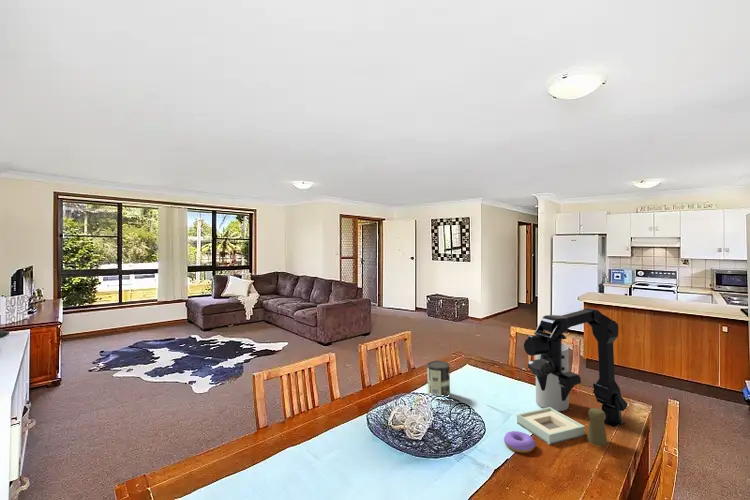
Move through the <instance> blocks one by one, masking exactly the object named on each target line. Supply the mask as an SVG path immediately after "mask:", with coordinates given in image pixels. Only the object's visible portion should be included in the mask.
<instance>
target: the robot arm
mask: <svg viewBox="0 0 750 500" xmlns="http://www.w3.org/2000/svg"><path fill="white" fill-rule="evenodd" d="M583 324H588V325H589V326H590V327H591V332H592V335H593V336H594V338H595V340H596V341H597V355H598V358H597V359H598V377H599V378H598V379H597V381H596V382H594V383H593V384H592V387H593V390H592V393H593V394H594V397H595V399H596V401H597V403H600V404H601V408H600V409H601V410H603V411H604V412H605V415H606V418H605V420H604V424H607V425H609V426H611V427H616V426H621V425H624V424H626V422H625V421H624V420H622V412H624V411H625V410H627V408H628V402H627V401H626V400H625V399H624V398H623V396H622V394H621V389H620V387H619V385H618V383H617V382H616V380H615V378H616V377H615V353H614V352H615V351H614V342H615V341H616V340H617V338H618V337H619V327H620V326H619V323H617V322H616V321H615V320H613V319H611V318H610V317H608V316H607V315H605V314H603V313H602V312H601V311H600V310H598V309H595V308H590V307H585V308H583V309H581V310H578V311H574V312H569V313H566V314H563V315H561V314H560V315H556V314H555V315H554V314H552V315H551V314H547V315H544V316H542V317H541V320H540V322H539V323H538V326H537V327H536V329H535V331H534V332H533V333H534V334H529V335H528V336H527V338H526V339H525V340H524V342H523V349H524V351H525V353H526V354H527V355H529V356H532V357H533V356H536V355H540V354H541V358H540V359H537V360H536V359H533V360H529V362H528V363H527V368H528V369H529V370H530V371H531V373H532V374H533V375H535V377H536V376H537V379H538V381H539V384H540V387H541V390H542V391H544V390H545V387H546V382H547V376H548V375H549V374H550V373H551V374H553V375H556V376H558V380H559V381H560V382H558V384H559V385H560V386H561V398H562V401H565V400H566V398H567V396H568V394H569V395H570V392H571V391H572V390H573V388H574V386H577V385H580V384H582V383H581V380H582V377H581V376H580V375H579V374H577V373H575V372H572V371H569V372H566V373H563V372H562V371H563V370H565V367H562V359H564V355H562V345H563V344H562V343H563V342H562V341H563V340H567V336H565V334H564V333H566V332H568V331H569V329H570V328H572V327H575V326H579V325H583Z"/></svg>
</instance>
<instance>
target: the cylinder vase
mask: <svg viewBox="0 0 750 500" xmlns="http://www.w3.org/2000/svg"><path fill="white" fill-rule="evenodd" d="M562 355H564V359H562V367H565V370H563V371H562V372H563V373H566V372H570V369H569V346H567V345H565V344H562ZM540 358H541V354H540V355H535V360H537V359H540ZM558 382H560V381H559V380H558V376H556V375H553V374H551V373H550V374H549V375H548V376H547V382H546V387H545V390H544V391H542V390H541V387H540V384H539V381H538V379H537V376H536V375H535V402H536V405H538V406H539V407H541V409H544V408H548V407H551V408H552V409H554V410H556V411H558V412H564V411H567V410H568V409H569V407H570V405H569V404H570V402H569V400H570V393H569V394H568V396H567V398H566V400H565V401H562V398H561V386H560V385H559V384H558Z"/></svg>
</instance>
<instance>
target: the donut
mask: <svg viewBox="0 0 750 500" xmlns="http://www.w3.org/2000/svg"><path fill="white" fill-rule="evenodd" d="M503 442H504V444H505V445H506V447H507V448H508V449H509V450H511V451H513V452H515V453H520V454H521V453H522V454H528V453H530V452H533V451H534V449H535V448H536V442H535V440H534V438H533V437H532V436H531V435H530V434H527V433H525V432H522V431H515V430H512V431H508V432H506V434H505V435H504V438H503Z"/></svg>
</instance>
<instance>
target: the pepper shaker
mask: <svg viewBox="0 0 750 500" xmlns="http://www.w3.org/2000/svg"><path fill="white" fill-rule="evenodd" d="M601 409H602V408H596V407H591V408H590V409H589V410H588V412H587V415H588V418H589V423H588V430H587V437H586V440H587V442H588V443H590V444H592V445H594V446H599V447H605V446H607V445H608V438H607V432H606V427H605V422H604V420H605V418H606V415H605V412H604V411H603V410H601Z"/></svg>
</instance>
